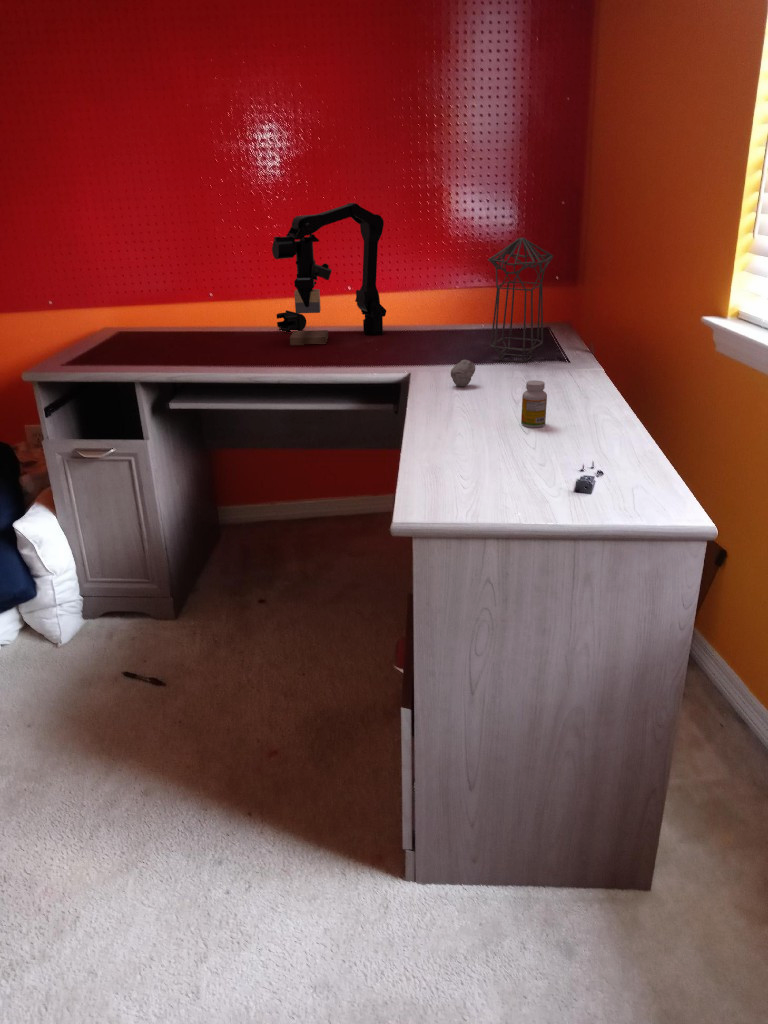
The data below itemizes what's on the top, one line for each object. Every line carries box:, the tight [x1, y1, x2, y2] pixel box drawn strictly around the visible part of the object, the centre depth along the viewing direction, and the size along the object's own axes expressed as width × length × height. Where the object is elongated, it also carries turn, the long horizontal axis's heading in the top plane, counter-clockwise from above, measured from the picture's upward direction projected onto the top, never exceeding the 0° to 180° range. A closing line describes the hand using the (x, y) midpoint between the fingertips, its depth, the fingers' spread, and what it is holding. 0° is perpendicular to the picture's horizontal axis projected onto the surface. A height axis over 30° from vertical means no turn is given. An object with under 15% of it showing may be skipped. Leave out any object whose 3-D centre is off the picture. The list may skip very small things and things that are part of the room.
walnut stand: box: [289, 329, 329, 346], centre depth 268 cm, size 12×12×2 cm
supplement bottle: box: [520, 379, 548, 429], centre depth 175 cm, size 5×5×10 cm
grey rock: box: [450, 359, 476, 388], centre depth 208 cm, size 6×7×7 cm
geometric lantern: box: [487, 237, 554, 363], centre depth 230 cm, size 16×16×35 cm
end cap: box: [276, 310, 307, 332], centre depth 285 cm, size 10×7×7 cm
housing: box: [293, 288, 321, 314], centre depth 263 cm, size 5×8×7 cm, turn 90°
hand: (307, 305), depth 263 cm, fingers closed on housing, 5 cm apart
